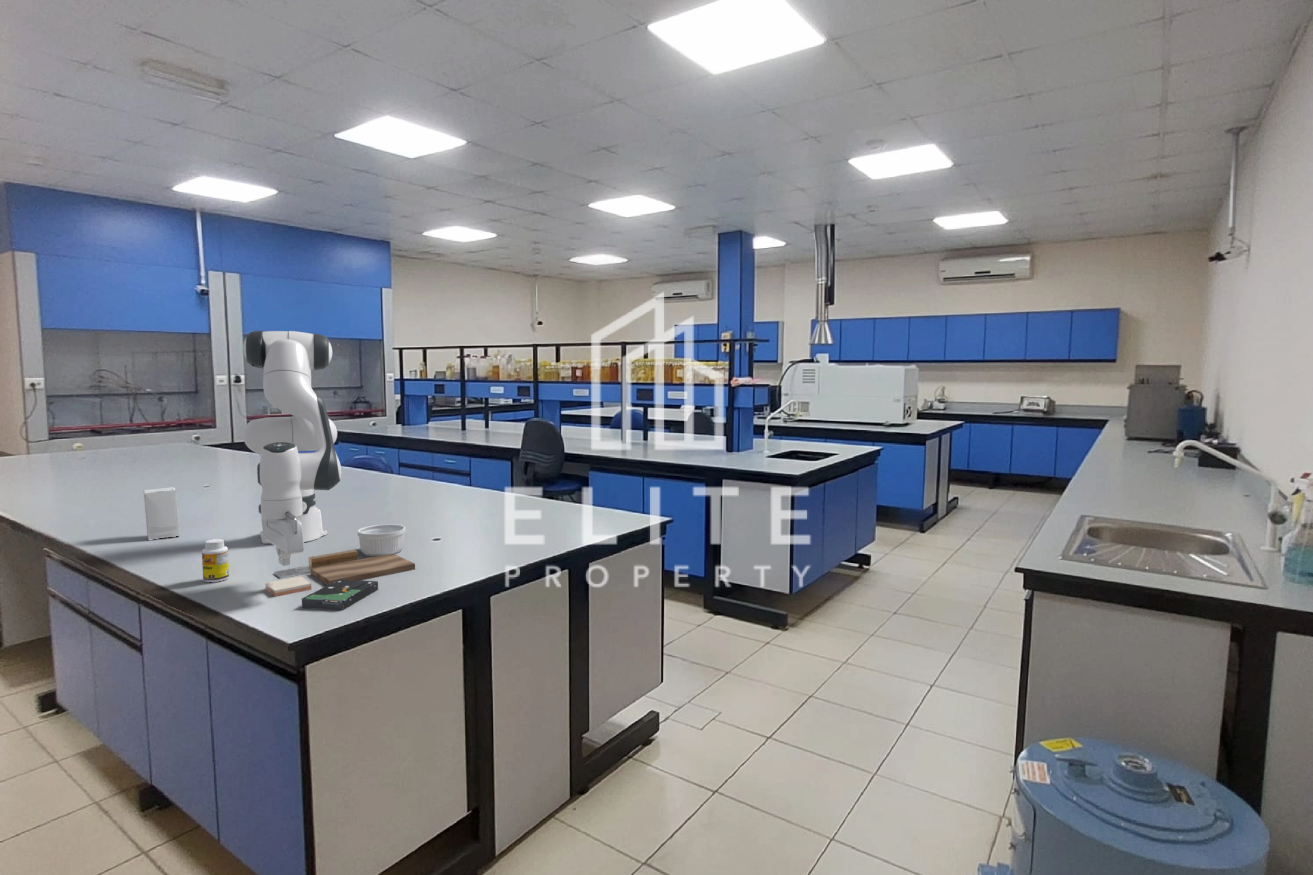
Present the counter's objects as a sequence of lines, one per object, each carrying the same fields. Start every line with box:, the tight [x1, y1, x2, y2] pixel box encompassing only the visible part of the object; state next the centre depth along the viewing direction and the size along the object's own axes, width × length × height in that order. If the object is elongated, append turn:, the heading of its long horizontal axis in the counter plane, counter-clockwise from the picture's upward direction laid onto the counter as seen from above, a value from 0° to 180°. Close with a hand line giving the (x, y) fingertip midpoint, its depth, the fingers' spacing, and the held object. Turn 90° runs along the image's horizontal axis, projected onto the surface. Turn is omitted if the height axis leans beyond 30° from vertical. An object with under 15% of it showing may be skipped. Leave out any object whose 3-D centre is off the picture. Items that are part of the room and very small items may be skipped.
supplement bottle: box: [201, 538, 230, 583], centre depth 169 cm, size 6×6×10 cm
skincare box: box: [143, 486, 181, 540], centre depth 211 cm, size 8×7×16 cm
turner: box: [273, 549, 359, 580], centre depth 179 cm, size 20×6×3 cm, turn 134°
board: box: [310, 553, 416, 586], centre depth 177 cm, size 14×22×2 cm, turn 135°
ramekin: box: [357, 523, 406, 557], centre depth 198 cm, size 13×13×7 cm
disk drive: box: [301, 579, 379, 611], centre depth 156 cm, size 10×3×15 cm
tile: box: [264, 575, 312, 598], centre depth 162 cm, size 2×8×8 cm
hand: (284, 564), depth 163 cm, fingers closed
